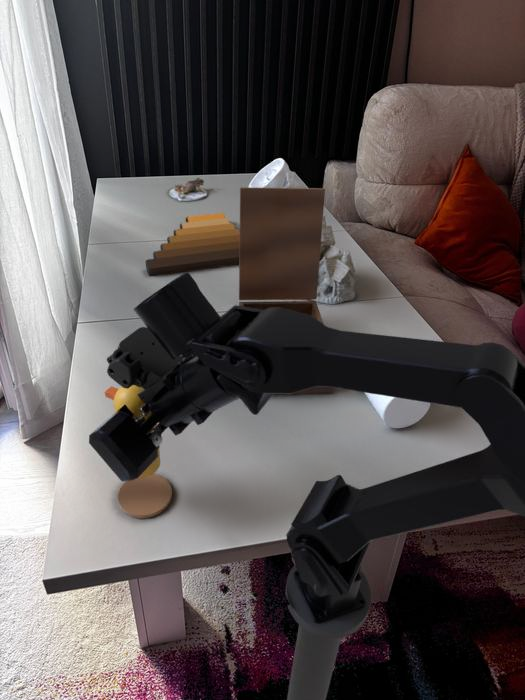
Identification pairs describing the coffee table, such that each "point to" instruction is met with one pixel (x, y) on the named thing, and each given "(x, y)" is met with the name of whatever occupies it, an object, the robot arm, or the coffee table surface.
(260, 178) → the skull bowl
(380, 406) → the mug
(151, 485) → the coaster
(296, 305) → the chest
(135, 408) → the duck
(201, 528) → the coffee table surface
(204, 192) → the frog figurine
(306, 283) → the chest lid
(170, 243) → the pan flute
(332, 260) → the ceramic cottage
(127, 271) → the coffee table surface
